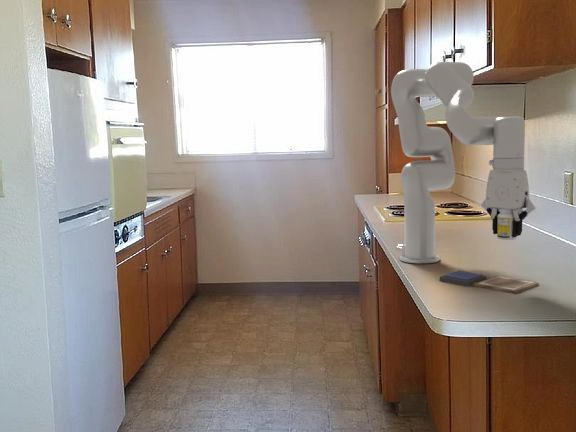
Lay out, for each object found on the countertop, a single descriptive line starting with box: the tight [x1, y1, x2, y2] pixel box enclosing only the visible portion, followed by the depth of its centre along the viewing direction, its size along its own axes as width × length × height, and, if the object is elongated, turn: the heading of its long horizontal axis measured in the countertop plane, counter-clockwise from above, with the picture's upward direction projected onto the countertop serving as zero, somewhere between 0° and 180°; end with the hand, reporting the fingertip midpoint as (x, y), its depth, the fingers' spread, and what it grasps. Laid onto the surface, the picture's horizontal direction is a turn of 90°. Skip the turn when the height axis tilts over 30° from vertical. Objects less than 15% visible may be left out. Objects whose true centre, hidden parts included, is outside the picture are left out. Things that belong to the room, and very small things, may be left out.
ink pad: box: [439, 270, 488, 287], centre depth 167 cm, size 9×9×2 cm
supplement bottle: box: [496, 209, 518, 241], centre depth 159 cm, size 5×5×8 cm
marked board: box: [472, 275, 540, 295], centre depth 161 cm, size 12×12×1 cm
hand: (506, 233), depth 159 cm, fingers closed on supplement bottle, 4 cm apart
